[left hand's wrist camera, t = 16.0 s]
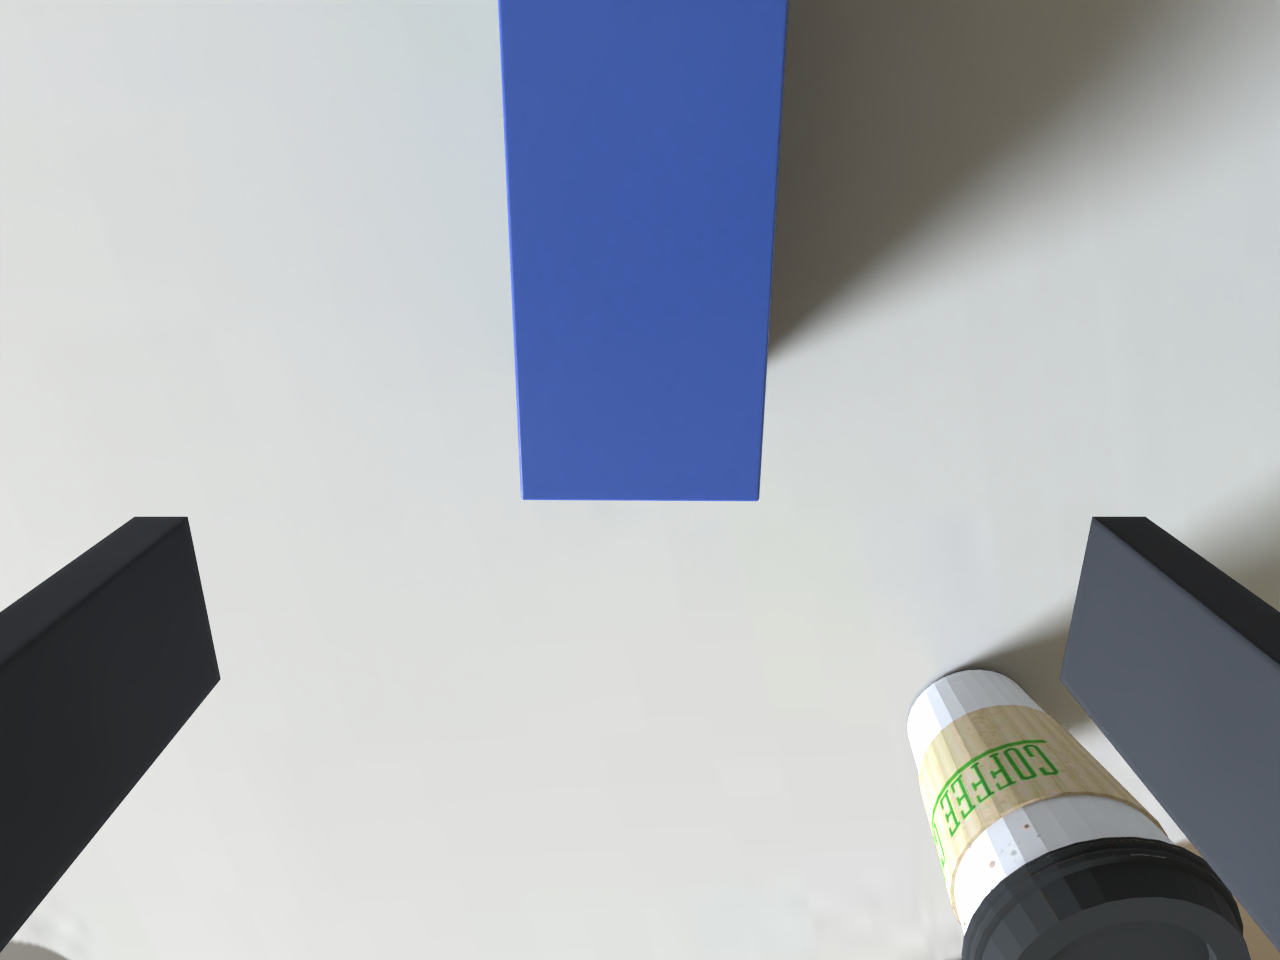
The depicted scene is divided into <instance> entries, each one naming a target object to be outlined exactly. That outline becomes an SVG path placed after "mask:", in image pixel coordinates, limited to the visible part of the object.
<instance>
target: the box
mask: <svg viewBox="0 0 1280 960" xmlns="http://www.w3.org/2000/svg"><path fill="white" fill-rule="evenodd" d="M788 3H789V0H498V6H499V28H500V50H501V71H502V93H503V115H504V136H505V158H506V180H507V201H508V223H509V245H510V266H511V288H512V309H513V331H514V353H515V374H516V396H517V418H518V439H519V461H520V483H521V498H522V499H523V500H648V501H758V499H759V491H760V474H761V458H762V441H763V424H764V407H765V390H766V373H767V356H768V340H769V323H770V306H771V289H772V272H773V255H774V238H775V222H776V205H777V188H778V171H779V154H780V137H781V120H782V104H783V87H784V70H785V53H786V36H787V19H788Z"/></svg>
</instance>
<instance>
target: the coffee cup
mask: <svg viewBox="0 0 1280 960" xmlns="http://www.w3.org/2000/svg"><path fill="white" fill-rule="evenodd" d="M908 735H909V740H910V743H911V747H912V750H913V754H914V757H915V761H916V765H917V768H918V772H919V784H920V790H921V794H922V797H923V801H924V805H925V809H926V812H927V816H928V820H929V823H930V827H931V831H932V834H933V838H934V842H935V845H936V849H937V853H938V856H939V860H940V864H941V867H942V871H943V875H944V879H945V882H946V886H947V890H948V893H949V897H950V901H951V904H952V908H953V910H954V912H955V915H956V917H957V919H958V921H959V923H960V924H961V925H962V928H963V931H964V940H963V948H962V956H961V957H962V960H1251V959H1250V955H1249V952H1248V948H1247V945H1246V942H1245V940H1244V938H1243V924H1242V920H1241V917H1240V913H1239V910H1238V906H1237V903H1236V901H1235V900H1234V898H1233V896H1232V893H1231V891H1230V890H1229V889H1228V888H1227V886H1226V885H1225V884H1224V883H1223V882H1222V880H1221V879H1220V878H1219V877H1218V875H1217V874H1216V873H1215V872H1214V870H1213V869H1212V868H1211V867H1210V865H1209V864H1208V863H1207V862H1206V861H1205V860H1204V859H1203V858H1201V857H1199V856H1197V855H1196V854H1194V853H1192V852H1190V851H1188V850H1187V849H1185V848H1183V847H1180V846H1177V845H1175V844H1174V843H1173V842H1172V841H1171V840H1170V839H1169V838H1168V836H1167V834H1166V833H1165V831H1164V830H1163V828H1162V827H1161V825H1160V824H1159V822H1158V821H1157V820H1156V819H1155V818H1154V817H1153V816H1152V815H1151V814H1150V813H1149V812H1148V811H1147V810H1146V809H1145V808H1144V807H1143V806H1142V805H1141V804H1140V803H1139V802H1138V801H1137V800H1136V799H1135V798H1134V797H1133V796H1132V795H1131V794H1130V793H1129V792H1128V791H1127V790H1126V789H1125V788H1124V787H1123V786H1122V785H1121V784H1120V783H1119V782H1118V781H1117V780H1116V779H1115V778H1114V777H1113V776H1112V775H1111V774H1110V773H1109V772H1108V771H1107V770H1106V769H1105V768H1104V767H1103V766H1102V765H1101V764H1100V763H1099V762H1098V761H1097V760H1096V759H1095V758H1094V757H1093V756H1092V755H1091V754H1090V753H1089V752H1088V751H1087V750H1086V749H1085V748H1084V747H1083V746H1082V745H1081V744H1080V743H1079V742H1078V741H1077V740H1076V739H1075V738H1074V737H1073V736H1072V735H1071V734H1070V733H1069V732H1068V731H1067V730H1066V729H1065V728H1064V727H1063V726H1062V725H1061V724H1060V723H1058V722H1057V721H1056V720H1055V719H1054V718H1053V717H1051V716H1049V715H1047V714H1046V713H1045V712H1044V711H1043V710H1042V709H1041V708H1040V707H1039V706H1038V705H1037V704H1036V703H1035V702H1034V701H1033V700H1032V699H1031V698H1030V697H1029V696H1028V695H1027V694H1026V693H1025V692H1024V691H1023V690H1022V689H1021V688H1020V687H1019V686H1018V685H1017V684H1016V683H1015V682H1014V681H1013V680H1011V679H1010V678H1008V677H1006V676H1004V675H1002V674H999V673H996V672H993V671H987V670H966V671H961V672H956V673H953V674H951V675H948V676H945V677H943V678H941V679H940V680H938V681H936V682H934V683H933V684H932V685H930V686H929V687H928V688H927V689H926V690H924V692H923V693H922V694H921V695H920V696H919V697H918V698H917V700H916V702H915V703H914V705H913V707H912V709H911V712H910V715H909V718H908Z"/></svg>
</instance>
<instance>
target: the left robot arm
mask: <svg viewBox="0 0 1280 960" xmlns="http://www.w3.org/2000/svg"><path fill="white" fill-rule="evenodd" d="M219 680H220V674H219V669H218V664H217V660H216V655H215V650H214V645H213V640H212V635H211V630H210V625H209V620H208V615H207V610H206V605H205V600H204V596H203V591H202V586H201V581H200V576H199V571H198V566H197V561H196V556H195V551H194V546H193V541H192V536H191V532H190V527H189V522H188V517H134V518H132V519H131V520H130V521H128V522H127V523H125V524H124V525H123V526H121V527H120V528H118V529H117V530H116V531H114V532H113V533H111V534H110V535H108V536H107V537H106V538H104V539H103V540H101V541H100V542H99V543H97V544H96V545H94V546H93V547H92V548H90V549H89V550H87V551H86V552H85V553H83V554H82V555H80V556H79V557H77V558H76V559H75V560H73V561H72V562H70V563H69V564H68V565H66V566H65V567H63V568H62V569H61V570H59V571H58V572H56V573H55V574H54V575H52V576H51V577H49V578H48V579H47V580H45V581H44V582H42V583H41V584H39V585H38V586H37V587H35V588H34V589H32V590H31V591H30V592H28V593H27V594H25V595H24V596H23V597H21V598H20V599H18V600H17V601H16V602H14V603H13V604H11V605H10V606H9V607H7V608H6V609H4V610H3V611H1V612H0V952H1V951H2V950H3V949H4V947H5V946H6V945H7V944H8V942H9V941H10V940H11V939H12V937H13V936H14V935H15V934H16V932H17V931H18V930H19V929H20V927H21V926H22V925H23V924H24V923H25V921H26V920H27V919H28V918H29V916H30V915H31V914H32V913H33V911H34V910H35V909H36V908H37V906H38V905H39V904H40V903H41V901H42V900H43V899H44V898H45V896H46V895H47V894H48V893H49V891H50V890H51V889H52V888H53V886H54V885H55V884H56V883H57V882H58V880H59V879H60V878H61V877H62V875H63V874H64V873H65V872H66V870H67V869H68V868H69V867H70V865H71V864H72V863H73V862H74V860H75V859H76V858H77V857H78V855H79V854H80V853H81V852H82V850H83V849H84V848H85V847H86V846H87V844H88V843H89V842H90V841H91V839H92V838H93V837H94V836H95V834H96V833H97V832H98V831H99V829H100V828H101V827H102V826H103V824H104V823H105V822H106V821H107V819H108V818H109V817H110V816H111V814H112V813H113V812H114V811H115V809H116V808H117V807H118V806H119V805H120V803H121V802H122V801H123V800H124V798H125V797H126V796H127V795H128V793H129V792H130V791H131V790H132V788H133V787H134V786H135V785H136V783H137V782H138V781H139V780H140V778H141V777H142V776H143V775H144V773H145V772H146V771H147V770H148V768H149V767H150V766H151V765H152V764H153V762H154V761H155V760H156V759H157V757H158V756H159V755H160V754H161V752H162V751H163V750H164V749H165V747H166V746H167V745H168V744H169V742H170V741H171V740H172V739H173V737H174V736H175V735H176V734H177V732H178V731H179V730H180V729H181V727H182V726H183V725H184V724H185V723H186V721H187V720H188V719H189V718H190V716H191V715H192V714H193V713H194V711H195V710H196V709H197V708H198V706H199V705H200V704H201V703H202V701H203V700H204V699H205V698H206V696H207V695H208V694H209V693H210V691H211V690H212V689H213V688H214V686H215V685H216V684H217V683H218V682H219ZM1060 680H1061V682H1062V683H1063V684H1064V685H1065V686H1066V688H1067V689H1068V690H1069V691H1070V693H1071V694H1072V695H1073V696H1074V698H1075V699H1076V700H1077V701H1078V703H1079V704H1080V705H1081V706H1082V708H1083V709H1084V710H1085V711H1086V713H1087V714H1088V715H1089V716H1090V718H1091V719H1092V720H1093V721H1094V723H1095V724H1096V725H1097V726H1098V727H1099V729H1100V730H1101V731H1102V732H1103V734H1104V735H1105V736H1106V737H1107V739H1108V740H1109V741H1110V742H1111V744H1112V745H1113V746H1114V747H1115V749H1116V750H1117V751H1118V752H1119V754H1120V755H1121V756H1122V757H1123V759H1124V760H1125V761H1126V762H1127V764H1128V765H1129V766H1130V767H1131V768H1132V770H1133V771H1134V772H1135V773H1136V775H1137V776H1138V777H1139V778H1140V780H1141V781H1142V782H1143V783H1144V785H1145V786H1146V787H1147V788H1148V790H1149V791H1150V792H1151V793H1152V795H1153V796H1154V797H1155V798H1156V800H1157V801H1158V802H1159V803H1160V805H1161V806H1162V807H1163V808H1164V809H1165V811H1166V812H1167V813H1168V814H1169V816H1170V817H1171V818H1172V819H1173V821H1174V822H1175V823H1176V824H1177V826H1178V827H1179V828H1180V829H1181V831H1182V832H1183V833H1184V834H1185V836H1186V837H1187V838H1188V839H1189V841H1190V842H1191V843H1192V844H1193V846H1194V847H1195V848H1196V849H1197V850H1198V852H1199V853H1200V854H1201V855H1202V857H1203V858H1204V859H1205V860H1206V862H1207V863H1208V864H1209V865H1210V867H1211V868H1212V869H1213V870H1214V872H1215V873H1216V874H1217V875H1218V877H1219V878H1220V879H1221V880H1222V882H1223V883H1224V884H1225V885H1226V886H1227V888H1228V889H1229V890H1230V891H1231V893H1232V894H1233V895H1234V896H1235V898H1236V899H1237V900H1238V901H1239V903H1240V904H1241V905H1242V906H1243V908H1244V909H1245V910H1246V911H1247V913H1248V914H1249V915H1250V916H1251V918H1252V919H1253V920H1254V921H1255V923H1256V924H1257V925H1258V926H1259V927H1260V929H1261V930H1262V931H1263V932H1264V934H1265V935H1266V936H1267V937H1268V939H1269V940H1270V941H1271V942H1272V944H1273V945H1274V946H1275V947H1276V949H1277V950H1278V951H1279V952H1280V612H1279V611H1277V610H1276V609H1274V608H1273V607H1271V606H1270V605H1269V604H1267V603H1266V602H1264V601H1263V600H1262V599H1260V598H1259V597H1257V596H1256V595H1255V594H1253V593H1252V592H1250V591H1249V590H1248V589H1246V588H1245V587H1243V586H1242V585H1241V584H1239V583H1238V582H1236V581H1235V580H1233V579H1232V578H1231V577H1229V576H1228V575H1226V574H1225V573H1224V572H1222V571H1221V570H1219V569H1218V568H1217V567H1215V566H1214V565H1212V564H1211V563H1210V562H1208V561H1207V560H1205V559H1204V558H1203V557H1201V556H1200V555H1198V554H1197V553H1195V552H1194V551H1193V550H1191V549H1190V548H1188V547H1187V546H1186V545H1184V544H1183V543H1181V542H1180V541H1179V540H1177V539H1176V538H1174V537H1173V536H1172V535H1170V534H1169V533H1167V532H1166V531H1164V530H1163V529H1162V528H1160V527H1159V526H1157V525H1156V524H1155V523H1153V522H1152V521H1150V520H1149V519H1148V518H1146V517H1092V522H1091V527H1090V532H1089V536H1088V541H1087V546H1086V551H1085V556H1084V561H1083V566H1082V571H1081V576H1080V581H1079V586H1078V591H1077V596H1076V600H1075V605H1074V610H1073V615H1072V620H1071V625H1070V630H1069V635H1068V640H1067V645H1066V650H1065V655H1064V660H1063V664H1062V669H1061V674H1060Z"/></svg>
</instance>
